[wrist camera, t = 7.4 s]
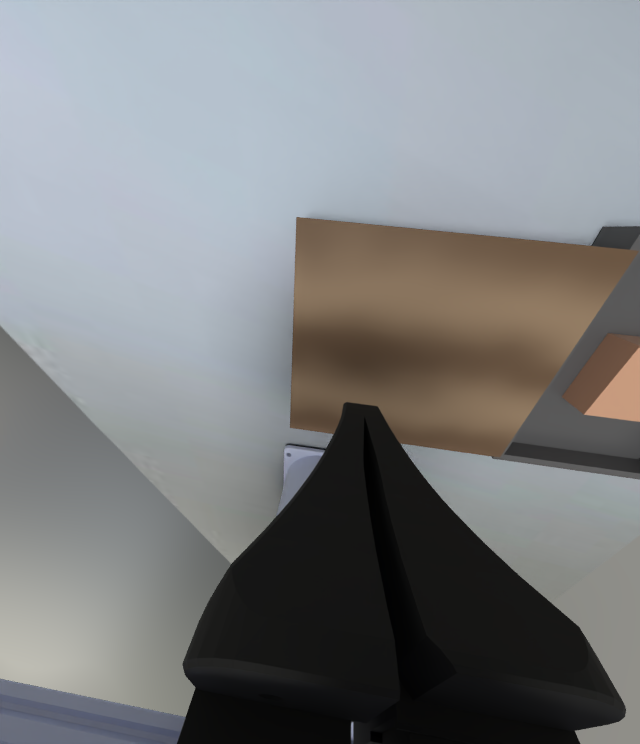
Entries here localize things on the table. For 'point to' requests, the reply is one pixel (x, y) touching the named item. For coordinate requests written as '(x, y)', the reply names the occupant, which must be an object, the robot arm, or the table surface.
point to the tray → (552, 412)
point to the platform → (437, 327)
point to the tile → (609, 380)
